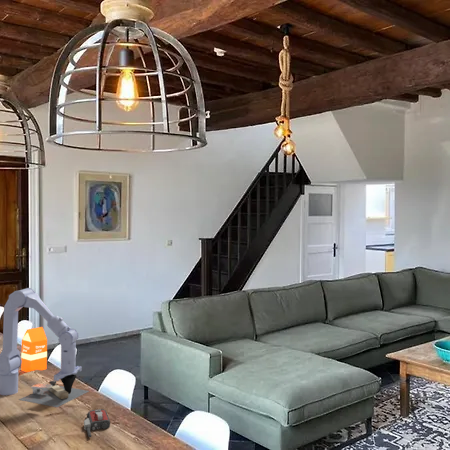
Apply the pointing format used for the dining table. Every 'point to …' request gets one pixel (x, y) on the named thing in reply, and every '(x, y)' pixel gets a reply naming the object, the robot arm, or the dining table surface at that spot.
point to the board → (53, 397)
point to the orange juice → (34, 350)
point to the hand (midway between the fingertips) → (67, 393)
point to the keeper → (37, 388)
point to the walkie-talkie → (96, 420)
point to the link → (58, 390)
